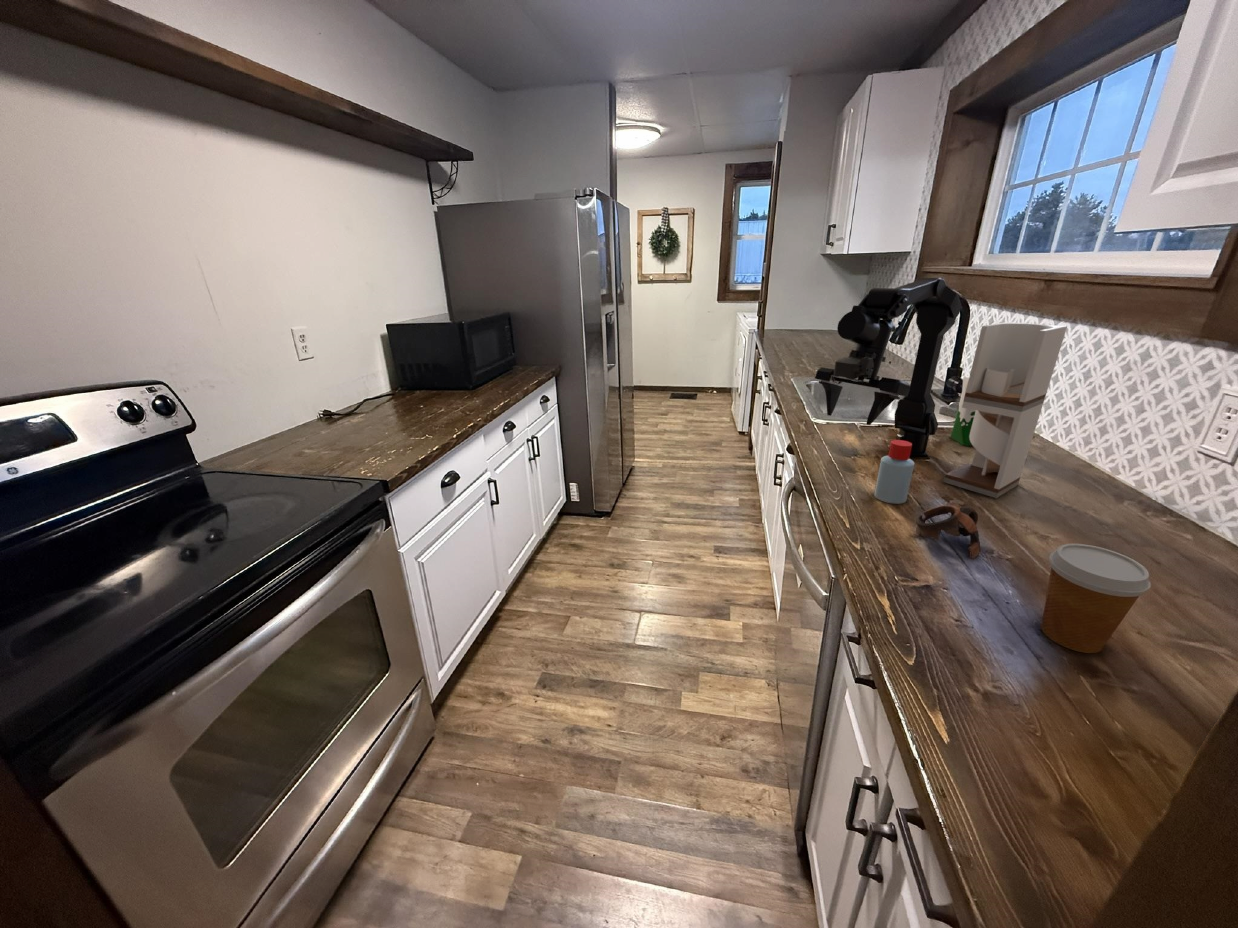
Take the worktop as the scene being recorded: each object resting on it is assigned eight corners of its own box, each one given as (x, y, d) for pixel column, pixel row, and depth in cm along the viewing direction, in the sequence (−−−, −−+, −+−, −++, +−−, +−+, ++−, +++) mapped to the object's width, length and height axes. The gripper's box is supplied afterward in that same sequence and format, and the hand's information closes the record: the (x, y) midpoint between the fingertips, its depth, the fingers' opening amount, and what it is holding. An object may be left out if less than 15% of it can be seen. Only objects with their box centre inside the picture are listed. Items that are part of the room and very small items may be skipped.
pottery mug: (971, 569, 82) (951, 526, 82) (917, 565, 91) (898, 527, 90) (1004, 532, 87) (985, 491, 87) (950, 532, 96) (933, 495, 95)
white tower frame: (966, 470, 120) (1005, 322, 107) (1017, 485, 112) (1067, 326, 99) (943, 482, 114) (982, 326, 101) (996, 498, 106) (1045, 330, 93)
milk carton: (961, 446, 135) (980, 374, 128) (944, 436, 144) (961, 367, 136) (995, 447, 135) (1016, 374, 127) (976, 436, 143) (995, 367, 135)
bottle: (899, 491, 110) (910, 440, 105) (911, 504, 104) (923, 451, 99) (870, 491, 110) (879, 440, 106) (880, 503, 105) (891, 450, 100)
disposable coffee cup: (1008, 616, 71) (1033, 543, 66) (1070, 611, 71) (1099, 539, 67) (1070, 665, 62) (1103, 586, 57) (1140, 659, 63) (1178, 580, 58)
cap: (904, 453, 105) (907, 439, 104) (912, 460, 102) (915, 446, 100) (885, 453, 106) (887, 439, 104) (892, 459, 102) (895, 445, 101)
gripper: (811, 337, 107) (791, 407, 111) (898, 346, 93) (871, 426, 96) (837, 346, 114) (817, 412, 117) (922, 357, 100) (896, 431, 103)
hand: (847, 420), depth 108 cm, fingers open, 9 cm apart
